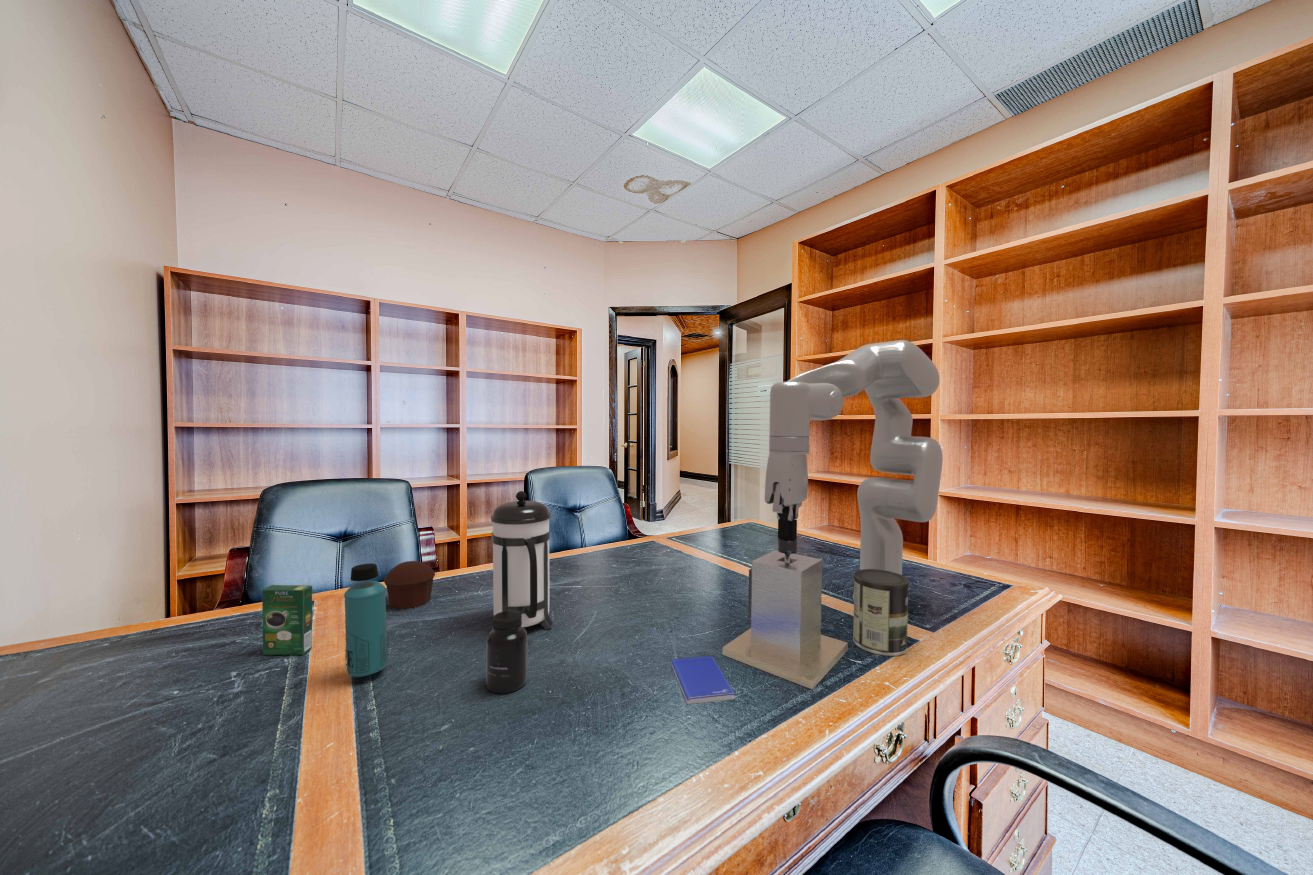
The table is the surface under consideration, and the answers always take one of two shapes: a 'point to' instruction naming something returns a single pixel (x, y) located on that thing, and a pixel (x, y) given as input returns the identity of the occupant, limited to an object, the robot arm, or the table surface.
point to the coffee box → (287, 619)
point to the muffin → (409, 584)
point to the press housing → (786, 621)
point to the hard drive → (701, 680)
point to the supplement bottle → (506, 653)
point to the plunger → (787, 548)
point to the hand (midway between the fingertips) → (787, 539)
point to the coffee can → (880, 612)
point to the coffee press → (521, 560)
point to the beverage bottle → (365, 623)
